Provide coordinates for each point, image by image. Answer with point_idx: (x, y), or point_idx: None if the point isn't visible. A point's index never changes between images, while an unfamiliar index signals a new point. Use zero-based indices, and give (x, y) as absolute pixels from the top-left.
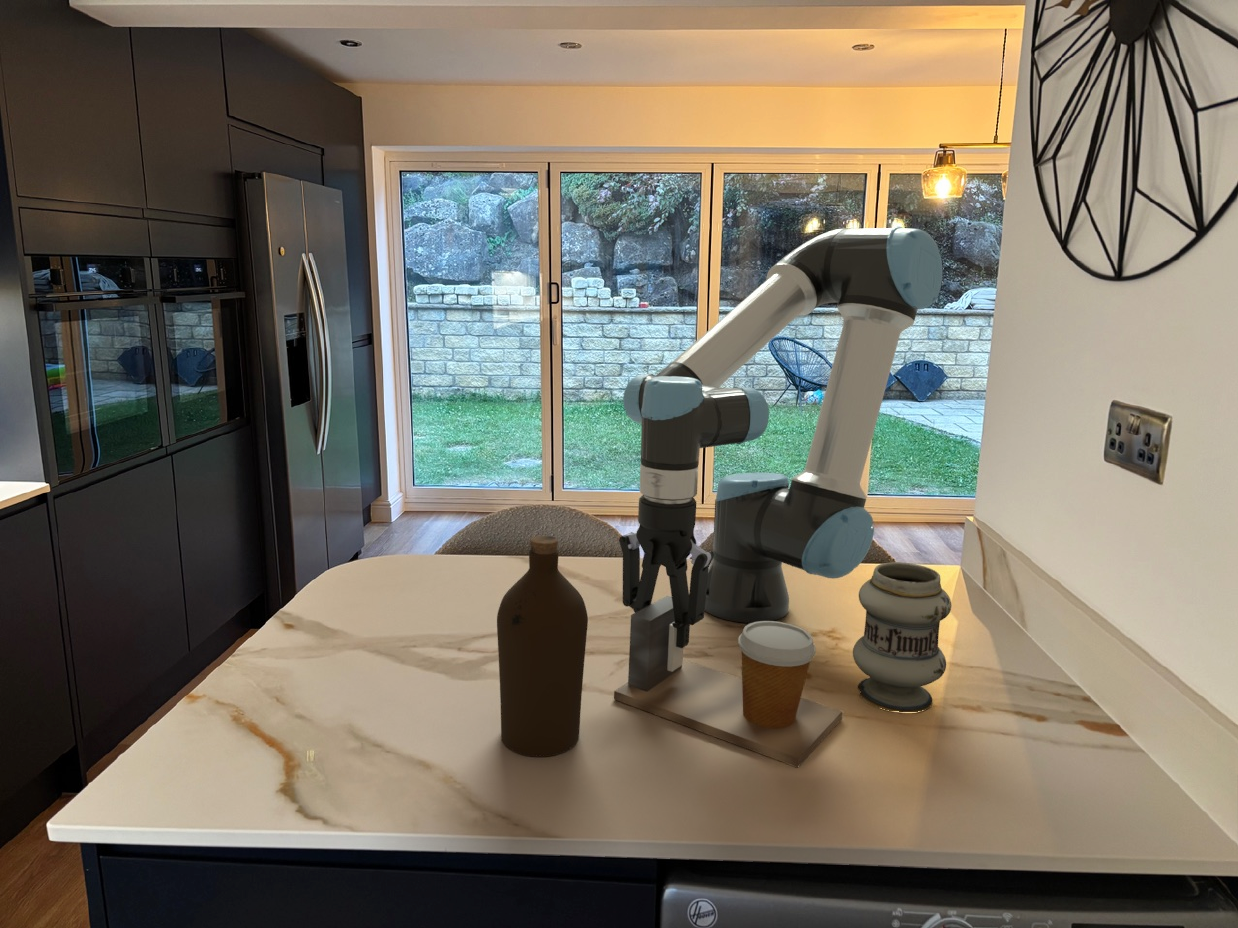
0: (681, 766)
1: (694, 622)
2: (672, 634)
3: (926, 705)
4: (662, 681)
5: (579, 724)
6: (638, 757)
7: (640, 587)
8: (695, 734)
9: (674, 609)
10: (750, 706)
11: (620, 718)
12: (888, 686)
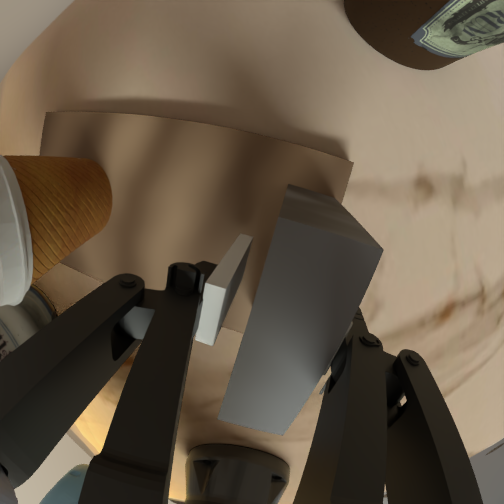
0: (170, 24)
1: (117, 275)
2: (220, 270)
3: None
4: (271, 240)
5: (351, 6)
6: (236, 11)
7: (376, 412)
8: (171, 108)
9: (188, 323)
10: (79, 161)
11: (312, 99)
12: (30, 313)
